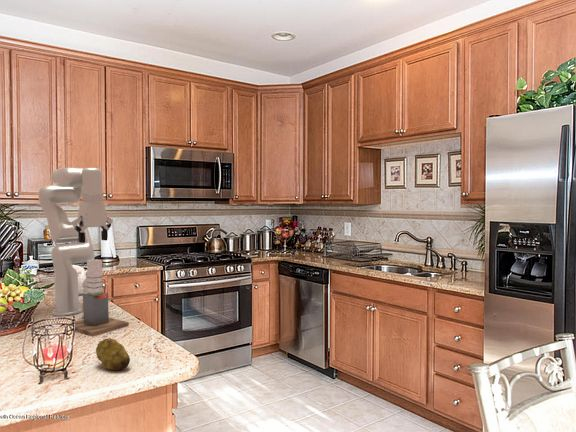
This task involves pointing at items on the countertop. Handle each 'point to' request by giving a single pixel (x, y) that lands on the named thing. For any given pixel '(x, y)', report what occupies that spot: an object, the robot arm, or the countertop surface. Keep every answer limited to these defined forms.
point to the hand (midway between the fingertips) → (93, 241)
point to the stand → (97, 316)
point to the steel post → (94, 277)
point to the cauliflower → (80, 278)
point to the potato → (112, 354)
